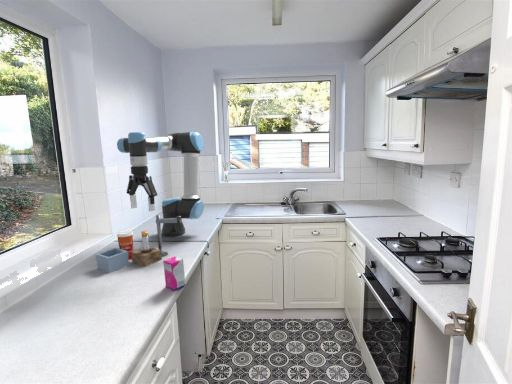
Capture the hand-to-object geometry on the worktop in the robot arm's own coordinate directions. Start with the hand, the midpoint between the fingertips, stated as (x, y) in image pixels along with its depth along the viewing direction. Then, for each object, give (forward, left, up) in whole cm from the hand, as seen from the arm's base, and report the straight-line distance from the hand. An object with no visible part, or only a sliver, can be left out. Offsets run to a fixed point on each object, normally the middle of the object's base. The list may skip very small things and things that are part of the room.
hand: (142, 209), depth 143 cm
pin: (0, 0, -26) cm, 26 cm away
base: (-9, 0, -26) cm, 28 cm away
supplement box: (+11, +33, -27) cm, 44 cm away
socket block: (0, 0, -26) cm, 26 cm away
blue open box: (+13, -8, -26) cm, 30 cm away
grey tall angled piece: (-12, +4, -25) cm, 28 cm away
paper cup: (+3, -12, -27) cm, 29 cm away
